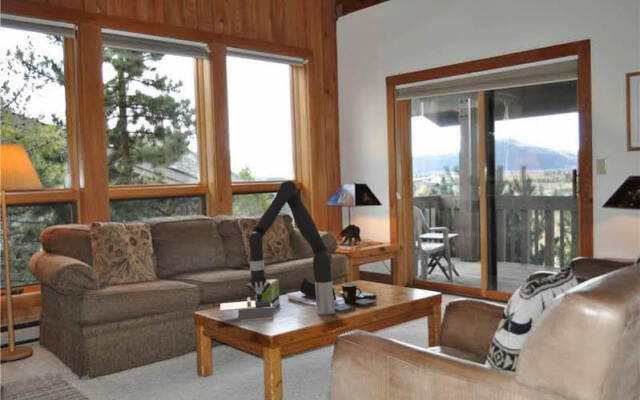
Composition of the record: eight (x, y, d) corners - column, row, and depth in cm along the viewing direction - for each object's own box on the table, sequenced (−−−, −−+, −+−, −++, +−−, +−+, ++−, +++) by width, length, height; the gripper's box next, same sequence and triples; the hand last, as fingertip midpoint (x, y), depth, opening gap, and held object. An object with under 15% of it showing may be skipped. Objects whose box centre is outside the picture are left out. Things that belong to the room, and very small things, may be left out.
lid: (254, 302, 306) (254, 296, 306) (255, 308, 292) (255, 302, 292) (220, 305, 303) (220, 299, 303) (220, 311, 289) (219, 305, 289)
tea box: (272, 310, 311) (271, 284, 310) (255, 310, 313) (254, 284, 312) (280, 303, 326) (278, 278, 325) (263, 303, 328) (262, 278, 327)
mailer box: (271, 311, 308) (270, 301, 307) (273, 318, 294) (272, 307, 294) (238, 314, 305) (237, 304, 305) (239, 321, 291) (238, 310, 291)
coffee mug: (340, 301, 323) (339, 284, 322) (353, 299, 326) (352, 282, 326) (349, 305, 312) (348, 288, 311) (362, 303, 315) (361, 286, 315)
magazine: (338, 287, 319) (307, 267, 341) (334, 288, 317) (302, 268, 339) (334, 314, 324) (303, 292, 346) (330, 315, 322) (299, 293, 344)
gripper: (245, 271, 293) (247, 303, 294) (270, 268, 296) (272, 301, 297) (244, 268, 301) (246, 300, 302) (269, 266, 303) (271, 297, 304)
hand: (259, 300), depth 299 cm, fingers closed
